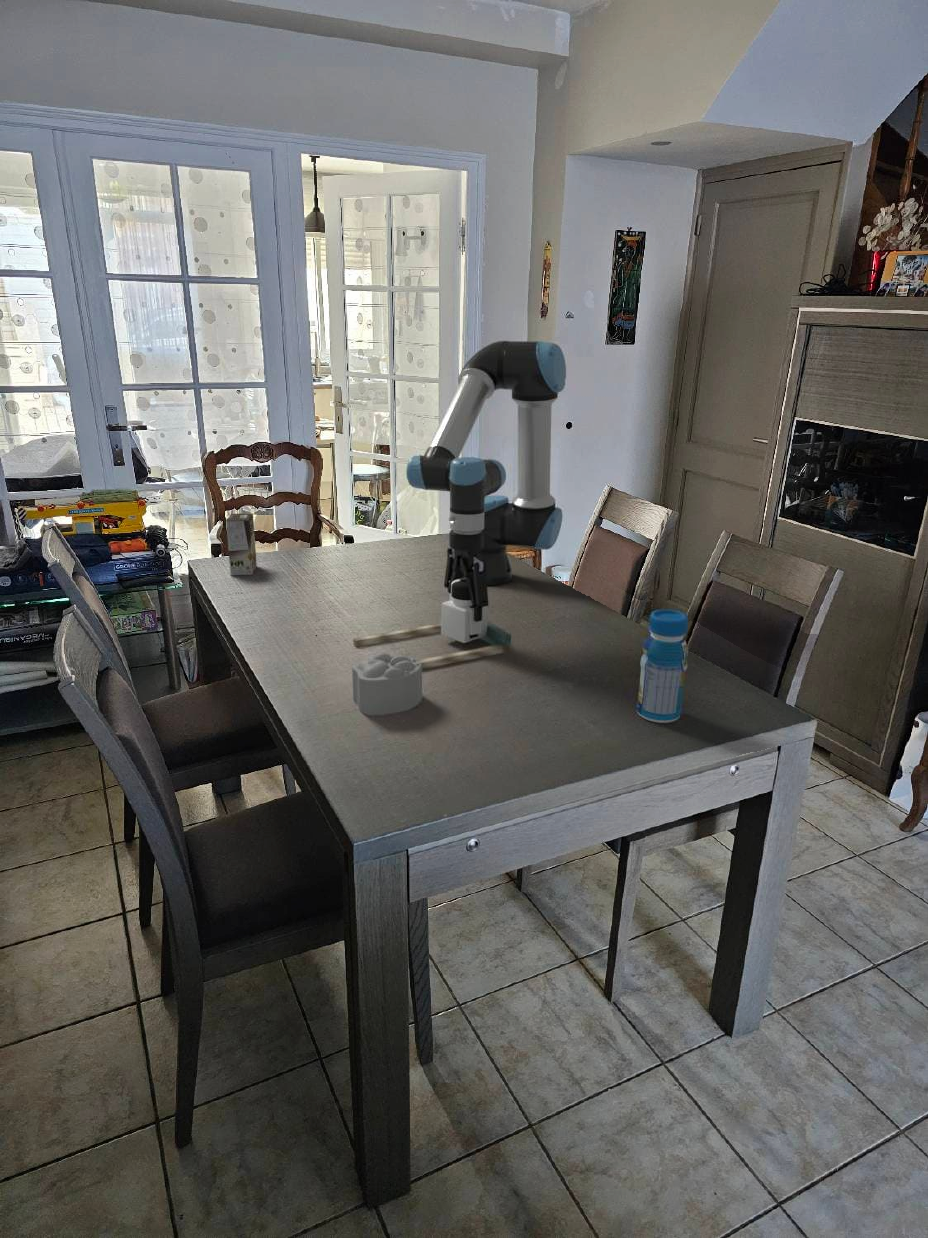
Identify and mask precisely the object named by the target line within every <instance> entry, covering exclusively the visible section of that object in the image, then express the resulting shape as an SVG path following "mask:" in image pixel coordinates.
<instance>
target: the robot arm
mask: <svg viewBox="0 0 928 1238" xmlns="http://www.w3.org/2000/svg"><path fill="white" fill-rule="evenodd" d="M566 365H567V364H566V360H565V355H564V353H563V350H562V348H561V347H560V345H558V344H557V343H554V342H547V341H537V340H535V341H534V340H533V341H529V340H526V341H522V340H521V341H518V340H517V341H516V340H515V341H511V340H510V341H509V340H499V341H495V342H494V341H493V342H492V343H490V344H487V345H486V346H484V347H482V348H481V349H479V350H478V351H477V352H476V353H475V354H473V355H472V356H471V357H470V359H469V360H468V361H466V364H465V365H464V366H463V367H462V370H460V371H461V372H460V373H459V376H458V377H457V383H458V387H457V389H456V391H455V392H454V395H453V396H452V399H451V400H450V403H449V405H448V407H447V409H446V411H445V413H444V414H443V417H442V419H441V421H440V422H439V425H438V426H437V429H436V431H435V432H434V434H433V436H432V439H431V441H430V443H429V445H428V447H427V449H426V451H425V452H424V455H422V454H419V455H413V456H412V457H410V458H409V460H408V462H407V465H406V473H405V474H406V479H407V481H408V484H409V486H411V487H412V488H415V489H420V490H425V491H437V492H438V491H440V492H449V517H448V521H449V529H450V531H449V534H448V535H449V537H448V539H449V544H448V545H449V548H448V547H447V549H446V554H447V556H446V557H447V559H446V567H445V575H444V583H443V586H444V588H446V589H447V593H449V595H448V596H449V597H448V599H449V600H448V601H450V600H451V583H452V582H453V581H454V580H457V579H461V578H466V579H467V583H468V588H469V593H470V598H471V603H472V605H471V606H469V607H470V622H469V634H470V635H474V634H479V633H481V632H482V608H483V607H485V606H488V607H489V606H490V605H489V596H488V595H489V593H488V586H494V585H495V586H496V585H502V584H505V583H508V582H510V581H511V580H512V577H513V576H512V572H513V571H512V567H511V563H510V560H509V557H508V553H507V546H511V547H517V548H518V547H519V548H525V549H526V548H527V549H532V550H545V551H546V550H549V549H551V548H552V547H554V545H555V544H556V542H557V541H558V537H559V535H560V531H561V528H562V522H563V510H562V509H561V508H560V507H556V498H555V497H554V496H553V495H552V494H551V459H552V458H551V455H552V454H551V453H552V452H551V449H552V441H551V440H552V405H553V403H554V402H556V400H558V397H559V396H558V395H559V394H558V393H561V392H562V391H563V390H564V389H565V386H566V379H567V367H566ZM497 390H511V399H512V400H513V402H515V404H516V405H517V494H516V496H514V497H513V498H512V500H511V503H510V499H509V497H508V496H504V495H500V494H499V495H492V494H495V493H497V492H498V490H500V489H501V488H502V487H503V486H504V484H505V482H506V479H507V472H506V469H505V467H504V465H503V464H502V463H501V462H500V461H499V460H497V459H493V458H487V459H486V458H485V459H482V458H480V457H474V456H473V457H472V456H471V457H469V456H466V457H465V456H463V457H460V455H461V453H462V451H463V449H464V447H465V445H466V443H467V440H468V438H469V436H470V434H471V432H472V430H473V428H474V425H475V424H476V422H477V419H478V417H479V415H480V413H481V410H482V408H483V406H484V405H485V403H486V400H487V399H490V398H492V396H493V395H494V392H495V391H497Z"/></svg>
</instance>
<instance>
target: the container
mask: <svg viewBox="0 0 928 1238" xmlns="http://www.w3.org/2000/svg"><path fill="white" fill-rule="evenodd" d="M471 605H472V603H471V598H470V593H469V588H468V583H467V579H466V578H461V579H457V580H454V581H453V582H452V583H451V600H450V601H449V600H447V601H444V602H442V603H441V620H440V623H441V632H440V635H442V636H445V637H447V638H450V639H452V640H456V641H457V642H460V643H463V644H466V643H470V642H473V641H474V640H478V639H480V638H481V637H484V636H486V635H487V626H488V620H489V605H488V606H485V607H483V608H482V632H481V633H479V634H474V635H470V634H469V622H470V607H469V606H471ZM481 639H482V638H481Z"/></svg>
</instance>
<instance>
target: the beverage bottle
mask: <svg viewBox="0 0 928 1238" xmlns="http://www.w3.org/2000/svg"><path fill="white" fill-rule="evenodd" d="M688 625H689V618H688V615H687V614H686V613H683V612H681V611H679V610H674V609H664V608H663V609H656V610H653V611H651V613H650V616H649V622H648V631H649V633H650V634H649V635H648V636H647V638H646V639H645V641H644V642H643V645H642V651H643V654H642V656H641V657H640V662H639V663H640V677H639V685H638V686H639V688H638V696H637V702H636V708H635V709H636V713H637V714H638V716H640V717H641V718H643V720H647V721H650V722H652V723H658V724H669V723H674V722H676V721H678V720H679V718H680V717H681V715H682V702H683V701H682V700H683V693H684V686H685V685H684V684H685V679H686V677H685V676H686V672H687V670H688V659H687V657H688V655H689V646H688V644H687V642H686V640H685V638H684V637H685V636H686V634H687V632H688Z"/></svg>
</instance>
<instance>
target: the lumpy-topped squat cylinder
mask: <svg viewBox="0 0 928 1238" xmlns="http://www.w3.org/2000/svg"><path fill="white" fill-rule="evenodd" d="M351 672H352V673H351V674H352V675H351V677H352V700H353V702H354V704H355V705H357V707H358V710H359V712H360V713H361V714H363V715H366V716H375V717H376V716H383V715H384V716H386V715H391V714H396V713H397V714H398V713H402V712H406V711H410V710H411V709H413V708H415V707H416V706H417V705H419V704H420V703H421V702H422V701H423V669H422V665H421V663H420V662H418V661H417V660H416V659H413V658H409V657H407V656H405V655H401V654H400V655H392V656H391V655H390V654H389V653H385V652H379V653H377V654H375V655H374V656H373V657H372V658H369V659H365V660H359V661H357V662H355V663H354V664H353V665H352V667H351Z"/></svg>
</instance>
